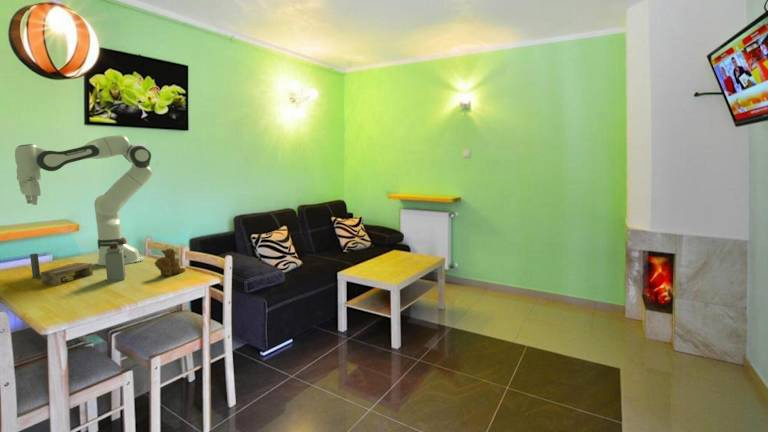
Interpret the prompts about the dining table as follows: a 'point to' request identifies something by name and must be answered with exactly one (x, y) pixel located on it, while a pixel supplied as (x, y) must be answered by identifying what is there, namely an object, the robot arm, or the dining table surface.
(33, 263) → the slab with upright peg
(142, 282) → the dining table surface
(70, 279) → the token
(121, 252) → the perfume bottle
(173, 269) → the stuffed squirrel
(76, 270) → the bench
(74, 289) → the dining table surface
